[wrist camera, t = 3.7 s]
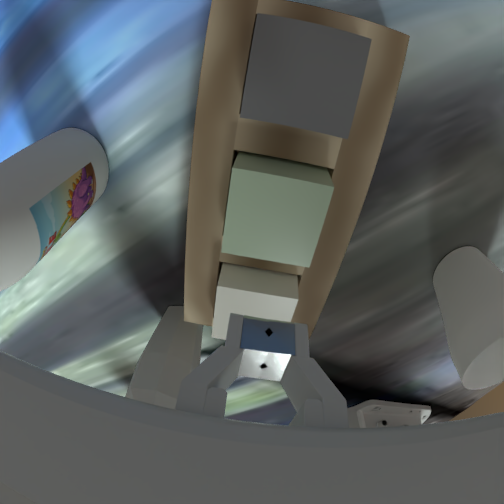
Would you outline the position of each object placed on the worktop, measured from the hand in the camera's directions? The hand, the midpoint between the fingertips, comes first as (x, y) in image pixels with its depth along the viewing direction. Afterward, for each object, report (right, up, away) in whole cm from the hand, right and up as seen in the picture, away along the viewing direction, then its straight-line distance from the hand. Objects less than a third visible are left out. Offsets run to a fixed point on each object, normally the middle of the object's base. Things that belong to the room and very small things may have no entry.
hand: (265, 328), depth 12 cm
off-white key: (0, 0, +16) cm, 16 cm away
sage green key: (+1, +7, +11) cm, 13 cm away
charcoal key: (+3, +14, +5) cm, 16 cm away
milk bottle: (-16, +11, +13) cm, 24 cm away
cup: (+21, +1, +16) cm, 27 cm away
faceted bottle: (-8, -5, +23) cm, 25 cm away
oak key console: (+1, +9, +13) cm, 15 cm away
